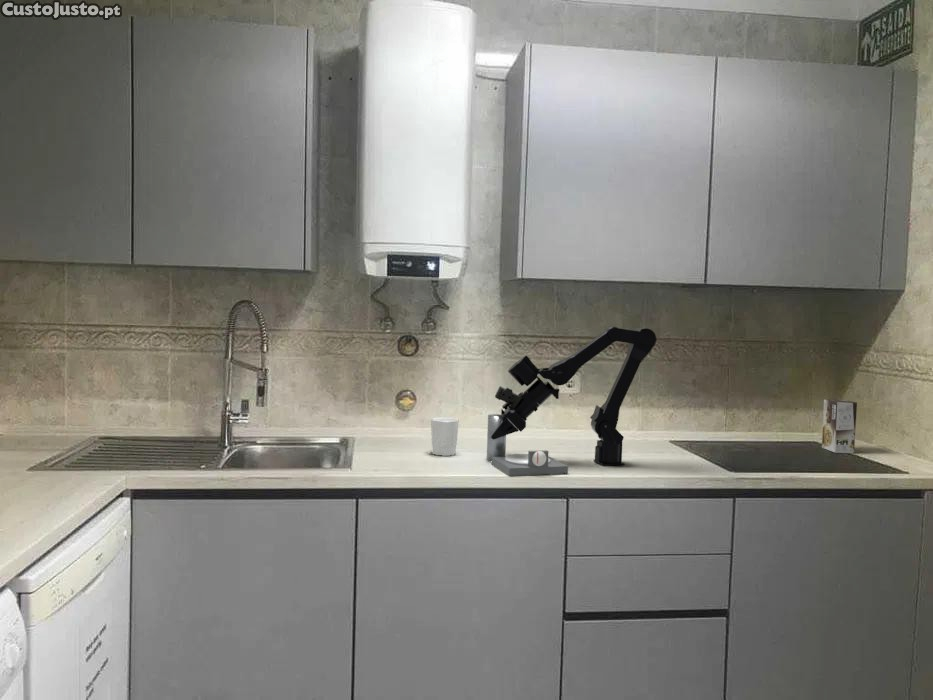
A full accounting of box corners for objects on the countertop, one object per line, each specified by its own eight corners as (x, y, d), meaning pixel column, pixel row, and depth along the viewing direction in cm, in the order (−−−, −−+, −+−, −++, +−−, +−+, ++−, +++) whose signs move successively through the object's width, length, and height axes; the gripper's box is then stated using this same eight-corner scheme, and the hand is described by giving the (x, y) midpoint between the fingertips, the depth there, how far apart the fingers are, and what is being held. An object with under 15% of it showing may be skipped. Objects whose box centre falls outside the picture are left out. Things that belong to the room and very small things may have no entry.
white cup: (433, 457, 204) (434, 421, 204) (427, 451, 212) (428, 417, 212) (460, 456, 207) (461, 421, 206) (453, 450, 214) (454, 417, 214)
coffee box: (855, 453, 228) (858, 402, 227) (834, 453, 228) (837, 401, 227) (840, 448, 237) (843, 398, 236) (820, 447, 237) (823, 398, 236)
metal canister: (501, 458, 206) (503, 413, 205) (507, 461, 201) (509, 416, 200) (484, 458, 204) (485, 414, 203) (490, 462, 199) (491, 416, 198)
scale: (546, 462, 201) (547, 440, 201) (567, 473, 188) (568, 450, 187) (491, 464, 197) (492, 442, 196) (509, 476, 183) (510, 452, 183)
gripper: (511, 373, 210) (471, 410, 211) (514, 380, 192) (471, 420, 192) (537, 401, 211) (498, 438, 211) (543, 410, 192) (500, 451, 193)
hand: (491, 436), depth 202 cm, fingers closed on metal canister, 5 cm apart
